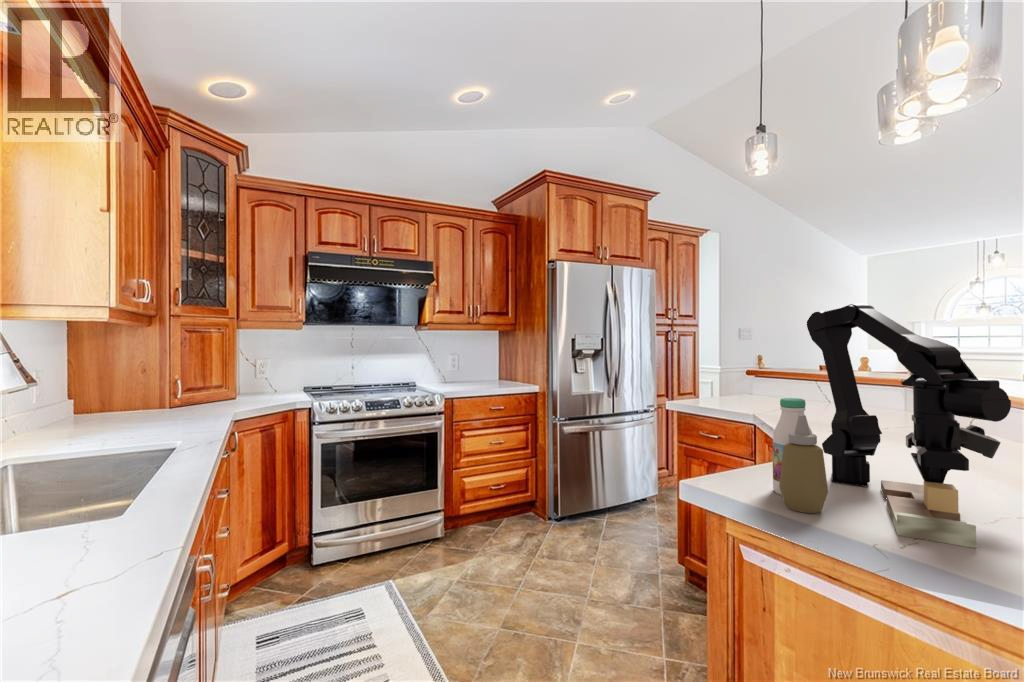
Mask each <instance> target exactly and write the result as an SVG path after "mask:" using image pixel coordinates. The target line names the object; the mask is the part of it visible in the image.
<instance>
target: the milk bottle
mask: <svg viewBox="0 0 1024 682" xmlns="http://www.w3.org/2000/svg"><path fill="white" fill-rule="evenodd" d="M779 405H780V410H781V414H780V417H779V420H778V422H777V423H776V426H775V428H774V431H773V436H772V486H773V487H772V489H773V492H775V493H776V494H778V495H780V496H782V493H781V490H780V488H779V484H780V474H781V464H782V454H783V446H784V445H786V444H787V443H790V442H789V433H791V432H795V429H796V424H797V420H798V416H799V415H805V411H806V400H805V399H802V398H797V397H795V398H794V397H787V398H785V397H783V398H780V400H779ZM808 426H809V424H808ZM809 430H810V433H811V434H813V431H812V429H811V428H810V426H809Z"/></svg>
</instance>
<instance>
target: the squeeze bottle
mask: <svg viewBox="0 0 1024 682" xmlns="http://www.w3.org/2000/svg"><path fill="white" fill-rule="evenodd" d="M808 425H809V423H808V419H807V416H806V414H804V415H799V416H798V420H797V424H796V429H795V432H791V433H789V442H790V443H787V444H786V445H784V446H783V454H782V464H781V474H780V484H779V488H780V490H781V493H782V495H781V497H782V498H783V501H784V504H785V507H787V508H788V509H790V510H793V511H796V512H800V513H807V514H815V513H816V514H817V513H821V512H822V511H823V508H824V505H825V503H826V500H827V497H828V494H829V487H828V481H827V471H826V464H825V458H824V456H825V455H824V450H823V448H821V447H820V446H819V445H817V444H818V436H817V435H816V434H814V433H812V434H811V433H810V430H809V427H810V426H808Z"/></svg>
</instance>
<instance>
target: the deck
mask: <svg viewBox="0 0 1024 682" xmlns="http://www.w3.org/2000/svg"><path fill="white" fill-rule="evenodd" d="M881 489H882V491H881V493H882V492H883V493H882V495H884V496H883V499H884V498H887V499H886V506H888V507H887V510H888V509H889V510H888V512H890V513H889V515H890V518H891V521H892V523H893V526H894V529H895V533H896V534H897V536H902V537H908V538H913V539H914V538H915V539H919V540H920V539H921V540H924V541H926V540H927V541H932V542H937V543H943V544H950V545H955V546H961V547H967V548H974V549H977V526H976V525H975V524H970V523H967V522H966V521H961V513H960V512H959V511H958V514H956V513H949V512H942V511H935V510H928V509H927V507H926V505H925V504H924V484H917V483H907V482H899V481H893V480H891V481H890V480H882V479H881V480H880V490H881Z"/></svg>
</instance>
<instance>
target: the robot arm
mask: <svg viewBox="0 0 1024 682" xmlns="http://www.w3.org/2000/svg"><path fill="white" fill-rule="evenodd" d="M857 327H858V328H859V329H860V330H862V331H863V332H865V333H866V334H867V335H869V336H870V337H872V338H873V339H876V340H877V341H878V342H880V343H881V344H883V345H884V346H886V347H888V348H889V349H890V350H892V351H893V352H894V353H895V354H896V357H897V360H898V362H899V364H901V365H902V366H903V367H904V368H905V369H906V370H907V371H908V372H909V373H911V374H910V376H909V377H908V378H906V379H904V380H903V381H901V385H902V386H904V387H912V395H913V398H912V400H913V401H912V402H913V404H912V405H913V407H912V408H913V410H912V411H913V414H911V421H913V432H912V431H911V432H910V433H908V434H907V435H905V446H906V447H907V449H912V447H915V448H916V452H911V453H910V456H911V457H912V459H913V461H914V464H915V465H916V468H917V470H918V472H919V473H920V475H921V478H922V480H923V482H924V481H926V482H935V483H944V484H945V479H946V477H947V475H948V472H950V471H951V470H955V471H964V472H966V471H967V472H968V471H970V461H969V460H970V459H969V458H968V457H966V456H965V454H963V453H962V452H961V449H962V448H963V449H967V450H969V451H971V452H975V453H978V454H980V455H982V456H983V457H985V458H989V459H994V456H995V455H996V453H997V451H998V449H999V447H1000V445H1001V441H999V440H997V439H996V438H994V437H992V436H989V435H986V433H985V429H984V428H982V427H980V426H977V425H975V424H970V425H969V426H967V427H966V428H965V427H961V425H960V424H961V423H960V422H959V421H958V420H956V417H955V416H957V417H960V418H961V417H962V418H969V419H975V420H976V419H977V420H982V421H989V422H994V423H995V422H1001V421H1003V420H1004V419H1006V418H1007V416H1008V415H1009V414H1010V412H1011V409H1012V408H1011V407H1012V400H1011V399H1010V398H1009V395H1008V394H1007V392H1006V391H1005V390H1004V389H1003V388H1001V386H1000V381H999V380H998V379H979V378H978V377H977V376H976V375H975V373H974V372H973V371H972V370H971V368H970V367H969V366H968V365H967V364H966V362H965V361H964V360H963V359H962V357H961V355H962V354H961V352H960V350H959V349H957V348H956V347H955V346H953V345H950V344H948V343H945V342H944V341H943V342H942V341H941V340H937V339H933V338H929V337H925V336H921V335H918V334H916V333H915V332H913V331H911V330H910V329H908V328H906V327H905V326H903V325H901V324H900V323H898V322H896V321H895V320H893V319H891V318H890V317H888V316H886V315H885V314H883V313H882V312H879V311H878V310H877V309H875V307H874V306H872V305H870V304H867V303H853V304H851V303H850V304H848V305H845V306H842V307H838V308H835V309H830V310H826V311H815V312H813V313H811V315H810V316H809V317H808V319H807V320H806V328H807V330H808V333H809V336H810V338H811V340H812V341H813V343H815V345H817V347H818V348H819V349H820V350H821V352H822V356H823V361H824V364H825V369H826V373H827V377H828V381H829V386H830V391H831V395H832V398H833V403H834V408H835V413H834V415H833V417H832V420H831V426H830V427H831V434H830V435H829V436H828V437H826V439H825V440H823V442H822V443H821V447H822V450H823V454H826V455H830V456H831V483H834V484H841V485H848V486H849V485H850V486H857V487H864V488H865V487H866V488H868V487H869V485H868V483H869V484H870V482H871V471H870V470H871V468H870V467H871V465H870V462H869V461H868V460H867V456H871V457H872V456H875V453H876V451H877V447H878V446H879V444H880V443H881V435H882V434H883V432H882V430H881V429H880V425H879V420H878V417H877V415H876V414H871V415H870V414H869V413H868V412H867V411H866V410H865V409H864V408H863V405H862V400H861V396H860V392H859V388H858V384H857V380H856V376H855V373H854V367H853V363H852V360H851V356H850V353H849V348H848V346H849V344H850V343H849V342H850V340H851V338H852V335H853V331H852V329H854V328H857Z"/></svg>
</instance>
